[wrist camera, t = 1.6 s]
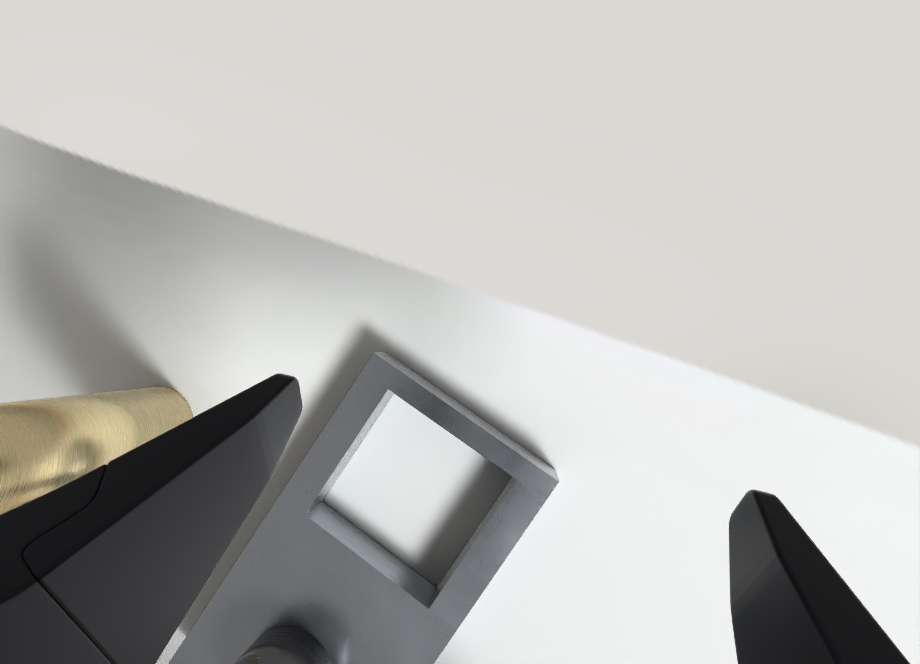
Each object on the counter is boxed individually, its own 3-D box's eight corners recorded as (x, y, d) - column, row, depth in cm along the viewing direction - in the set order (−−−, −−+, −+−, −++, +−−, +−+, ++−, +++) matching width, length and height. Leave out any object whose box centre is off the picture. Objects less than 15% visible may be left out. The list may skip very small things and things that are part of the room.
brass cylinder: (167, 478, 26) (-129, 587, 14) (110, 433, 27) (-222, 504, 15) (207, 415, 26) (-58, 472, 14) (150, 371, 27) (-154, 391, 15)
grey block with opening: (348, 771, 25) (310, 863, 20) (193, 643, 26) (126, 703, 21) (555, 470, 24) (563, 498, 19) (385, 352, 25) (356, 353, 21)
